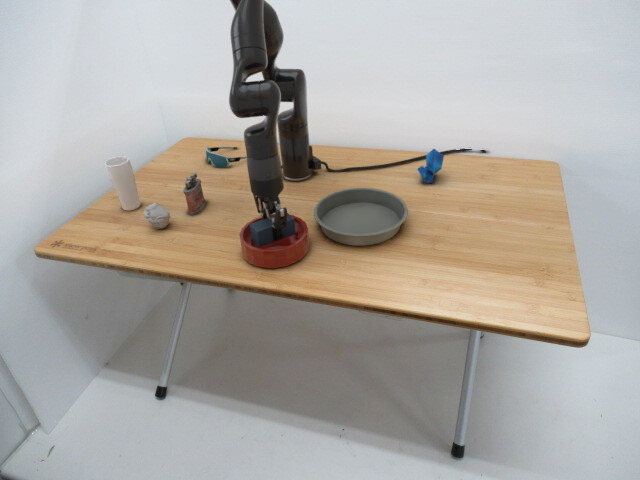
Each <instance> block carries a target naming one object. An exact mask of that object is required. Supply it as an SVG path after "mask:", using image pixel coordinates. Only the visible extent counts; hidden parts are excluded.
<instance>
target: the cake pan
mask: <svg viewBox="0 0 640 480" xmlns="http://www.w3.org/2000/svg"><path fill="white" fill-rule="evenodd" d="M408 214H409V207H408V205H407V203H406V202H405V201H404V200H403V199H402V198H401V197H399V196H398V195H396V194H394V193H392V192H389V191H387V190H383V189H379V188H373V187H350V188H344V189H340V190H336V191H334V192H331V193H329V194H327V195H325V196H324V197H322V198H321V199H320V200H319V201H318V202H317V203H316V204H315V206H314V209H313V217H314V219H315V220H316V222H317V223H318V224H319V225H320V228H321V231H322V232H323V234H324V235H325V236H326V237H328V238H329V239H331V240H333V241H334V242H337V243H338V244H339V243H340V244H343V245H348V246H357V247H358V246H359V247H361V246H362V247H363V246H372V245H378V244H381V243H383V242H385V241H388V240H390V239H391V238H393V237H394V236H395V235H396V234H397V233H398V232H399V231H400V228H401V226H402V224H403V223H404V222H405V221H406V220H407V218H408Z"/></svg>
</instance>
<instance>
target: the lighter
mask: <svg viewBox="0 0 640 480" xmlns="http://www.w3.org/2000/svg"><path fill="white" fill-rule="evenodd" d="M184 185H185V186H184V188H183V190H182V192H183V194H184V197H185V201H186V204H187V209H188V215H191V216H195V215H198V214H199V213H200V212H201V211H202V210H203V209H204V207H205V205H206V199H205V196H204V192H203V187H202V180H201V178H198V174H197V173H196V172H193V173H191V175H190V176H189V177H188V176H187V177H186V178H185V181H184Z"/></svg>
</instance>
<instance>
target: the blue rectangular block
mask: <svg viewBox="0 0 640 480" xmlns="http://www.w3.org/2000/svg"><path fill="white" fill-rule="evenodd" d="M291 215H292V214H289V212H287V225H286V227H284V228H282V233H283V238H286V237H288V236H291V235H294V234H296V230H295V221H294V218H293V217H292V216H291ZM274 222H275V219H274ZM249 225H250V231H251V237H252V240H253V241H254V242H255V243H256V244H257V245H258V246H259V247H262V246H265V245H267V244H270V243H273V242H275V240H274V237H273V230H272V225H271V221H270V220H269V219H268V218H265V219H263V220H260V221H257V222H254V223H251V224H249Z"/></svg>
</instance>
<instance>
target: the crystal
mask: <svg viewBox="0 0 640 480" xmlns="http://www.w3.org/2000/svg"><path fill="white" fill-rule="evenodd" d="M439 152H440V151H438V150H437V149H436V148H432V150H430V151H429V152H428V153H427V154H425V155H426V158H425V165H421V166H419V167H418V168H417V171H418V173H419V174H420V176H421V178H422V179H423V182H424V183H425V184H433V182H434V178H435V177H434V176H435V175H436V174H437V173H438V172H439V171H440V170H442V168H443V163H444V159H445V158H444V157H445V156H444V155H445V154H441V153H439Z"/></svg>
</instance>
